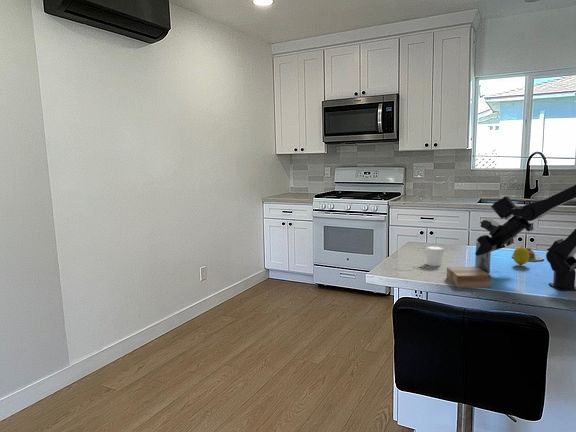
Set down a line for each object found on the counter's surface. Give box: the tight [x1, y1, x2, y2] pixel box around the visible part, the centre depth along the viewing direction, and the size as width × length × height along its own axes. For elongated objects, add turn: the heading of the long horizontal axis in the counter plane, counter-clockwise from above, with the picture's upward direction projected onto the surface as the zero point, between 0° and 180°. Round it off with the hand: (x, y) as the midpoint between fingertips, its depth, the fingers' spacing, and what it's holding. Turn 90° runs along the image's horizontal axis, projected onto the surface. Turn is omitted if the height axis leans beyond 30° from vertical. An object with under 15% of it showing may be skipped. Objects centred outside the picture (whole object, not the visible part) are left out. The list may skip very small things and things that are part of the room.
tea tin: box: [474, 237, 492, 274], centre depth 161 cm, size 5×5×12 cm
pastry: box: [511, 247, 545, 262], centre depth 180 cm, size 12×12×5 cm
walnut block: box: [446, 266, 492, 288], centre depth 148 cm, size 11×11×4 cm
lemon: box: [512, 245, 529, 267], centre depth 168 cm, size 6×6×8 cm
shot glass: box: [425, 245, 444, 267], centre depth 173 cm, size 7×7×7 cm
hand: (479, 253), depth 162 cm, fingers closed on tea tin, 5 cm apart
